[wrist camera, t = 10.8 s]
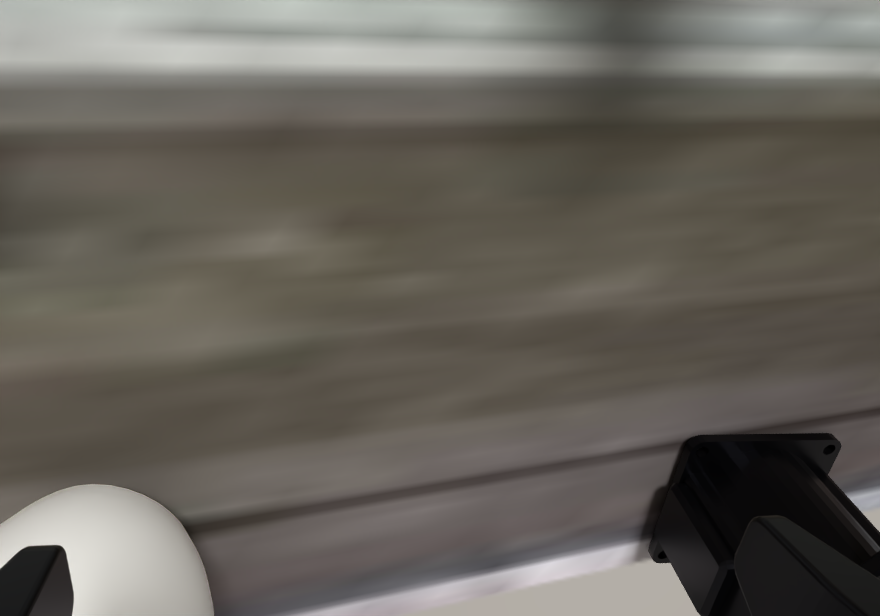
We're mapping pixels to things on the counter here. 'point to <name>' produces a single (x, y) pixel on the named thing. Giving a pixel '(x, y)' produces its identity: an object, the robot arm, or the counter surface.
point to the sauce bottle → (115, 551)
